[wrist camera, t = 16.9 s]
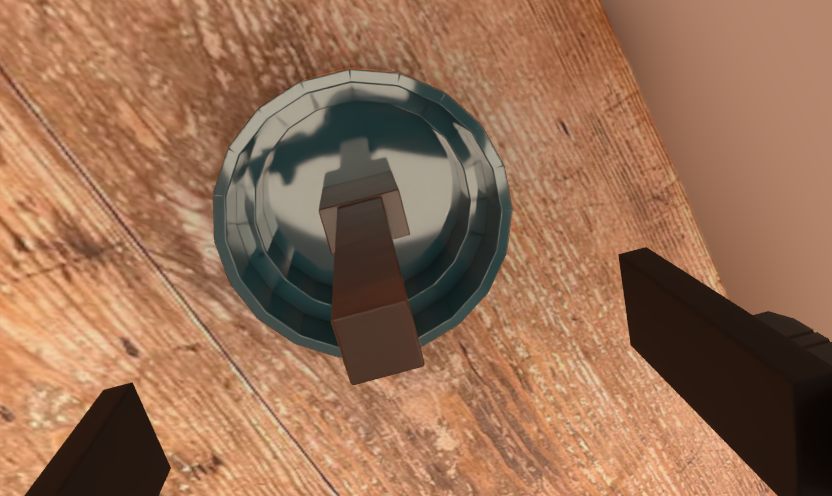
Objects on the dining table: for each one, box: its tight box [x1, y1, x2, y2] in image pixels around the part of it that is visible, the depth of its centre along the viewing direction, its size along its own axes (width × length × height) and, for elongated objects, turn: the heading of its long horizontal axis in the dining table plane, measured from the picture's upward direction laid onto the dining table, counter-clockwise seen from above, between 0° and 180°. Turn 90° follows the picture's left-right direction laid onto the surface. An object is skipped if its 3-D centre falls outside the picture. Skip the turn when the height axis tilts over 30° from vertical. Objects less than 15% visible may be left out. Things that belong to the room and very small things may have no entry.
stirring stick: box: [319, 171, 424, 385], centre depth 25 cm, size 4×2×18 cm, turn 104°
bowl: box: [213, 67, 512, 357], centre depth 32 cm, size 14×14×6 cm
